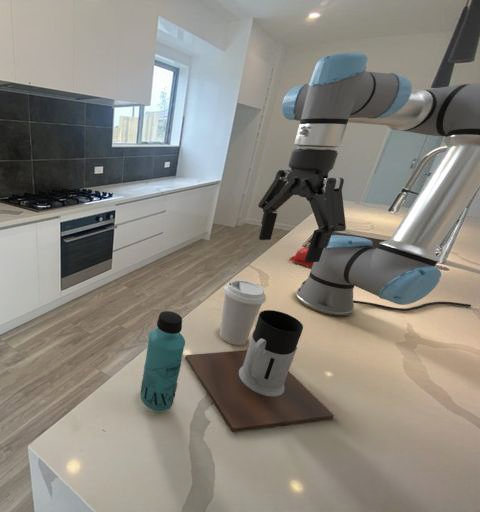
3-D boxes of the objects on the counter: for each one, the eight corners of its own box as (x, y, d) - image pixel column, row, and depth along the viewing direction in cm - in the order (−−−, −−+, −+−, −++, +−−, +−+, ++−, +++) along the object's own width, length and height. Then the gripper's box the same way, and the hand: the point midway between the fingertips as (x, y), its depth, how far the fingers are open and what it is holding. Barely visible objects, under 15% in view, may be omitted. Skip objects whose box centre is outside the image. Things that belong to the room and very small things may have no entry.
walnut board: (264, 351, 74) (265, 348, 73) (332, 419, 56) (334, 415, 56) (185, 358, 70) (185, 355, 70) (232, 432, 53) (233, 428, 52)
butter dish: (296, 256, 139) (302, 239, 135) (325, 264, 130) (332, 246, 127) (287, 261, 132) (292, 243, 128) (317, 271, 123) (324, 252, 120)
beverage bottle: (131, 403, 57) (142, 315, 50) (152, 385, 62) (164, 301, 54) (160, 425, 53) (176, 333, 46) (179, 404, 58) (197, 317, 50)
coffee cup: (220, 322, 85) (231, 274, 79) (256, 336, 79) (271, 286, 74) (208, 337, 78) (220, 286, 72) (247, 354, 72) (263, 301, 67)
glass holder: (291, 383, 63) (314, 323, 57) (261, 418, 54) (284, 352, 49) (250, 359, 69) (267, 304, 64) (217, 388, 61) (233, 326, 55)
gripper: (255, 145, 69) (236, 232, 77) (363, 151, 46) (320, 274, 54) (283, 146, 70) (261, 231, 78) (401, 152, 48) (354, 272, 56)
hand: (285, 249), depth 66 cm, fingers open, 13 cm apart
